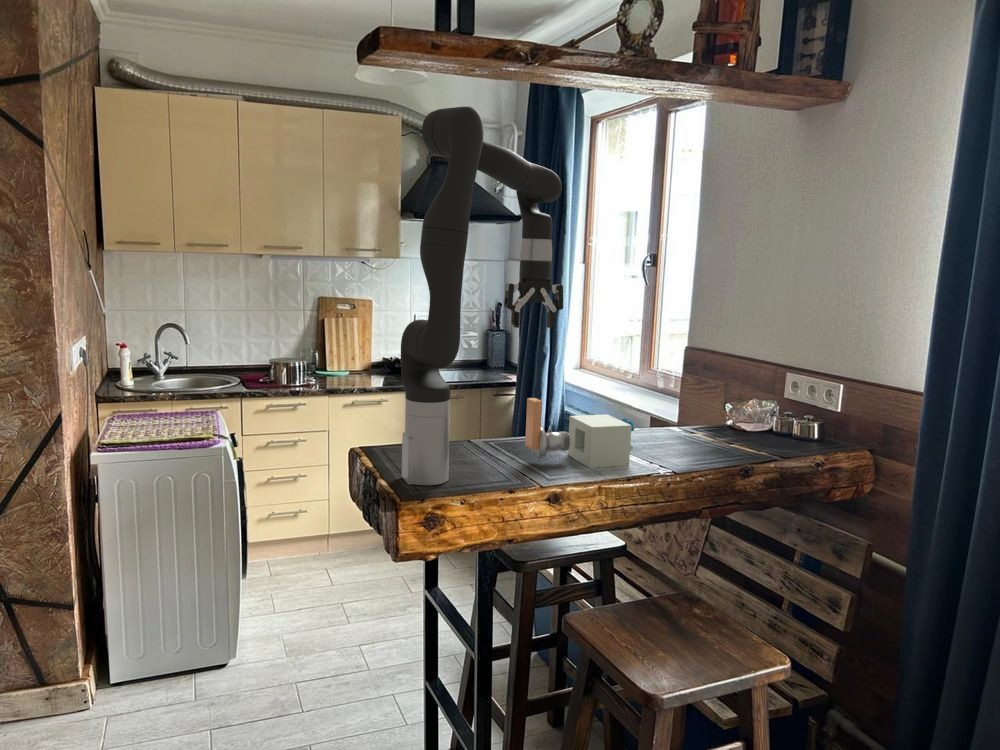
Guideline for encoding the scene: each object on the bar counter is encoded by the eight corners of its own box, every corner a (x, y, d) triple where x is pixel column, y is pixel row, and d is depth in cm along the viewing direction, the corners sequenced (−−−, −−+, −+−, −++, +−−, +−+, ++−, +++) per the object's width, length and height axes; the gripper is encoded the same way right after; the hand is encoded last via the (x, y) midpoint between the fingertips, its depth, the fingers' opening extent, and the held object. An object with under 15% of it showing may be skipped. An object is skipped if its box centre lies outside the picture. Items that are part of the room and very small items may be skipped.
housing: (590, 468, 168) (592, 427, 166) (567, 454, 179) (569, 415, 177) (629, 465, 171) (631, 425, 169) (604, 452, 182) (607, 414, 181)
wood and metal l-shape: (534, 463, 165) (536, 403, 163) (521, 455, 172) (524, 396, 170) (572, 461, 168) (575, 401, 166) (558, 452, 175) (561, 395, 173)
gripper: (513, 258, 168) (510, 329, 171) (570, 260, 173) (566, 329, 176) (502, 257, 175) (499, 326, 178) (557, 259, 180) (553, 326, 183)
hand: (532, 327), depth 177 cm, fingers open, 8 cm apart
